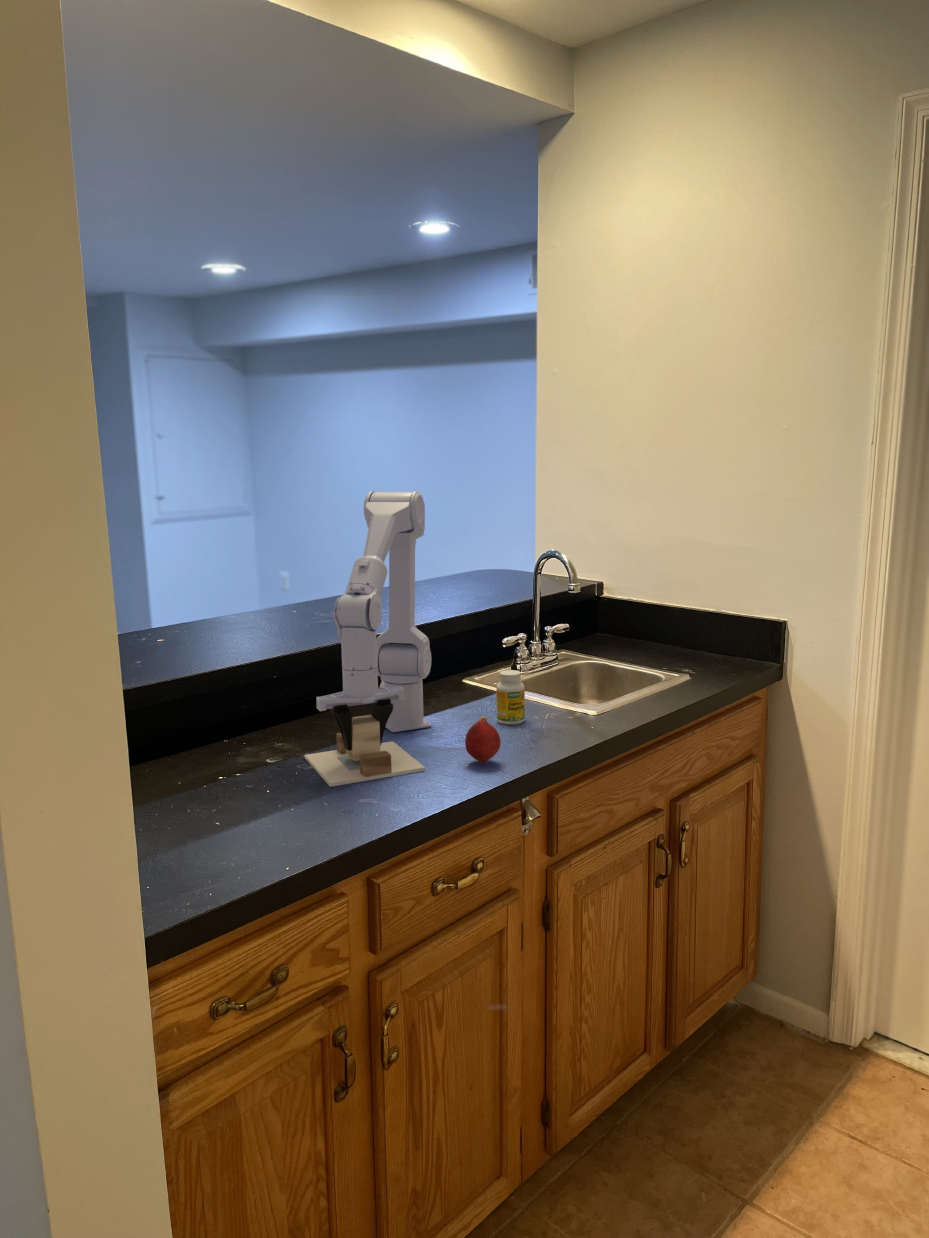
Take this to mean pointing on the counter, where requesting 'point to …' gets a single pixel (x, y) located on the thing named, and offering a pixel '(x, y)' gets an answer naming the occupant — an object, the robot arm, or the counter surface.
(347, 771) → the board
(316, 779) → the counter surface
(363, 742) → the maple block
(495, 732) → the onion
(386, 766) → the walnut blocks
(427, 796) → the counter surface
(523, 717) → the supplement bottle
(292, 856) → the counter surface
